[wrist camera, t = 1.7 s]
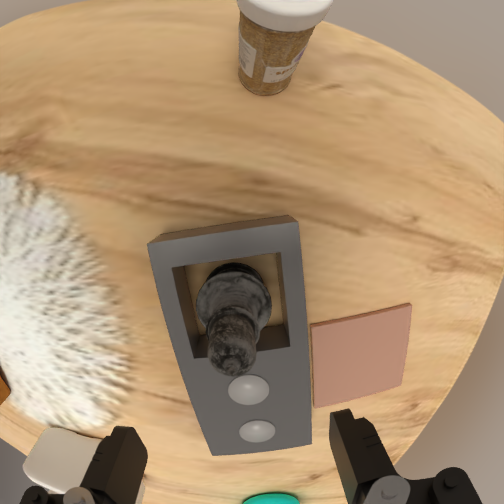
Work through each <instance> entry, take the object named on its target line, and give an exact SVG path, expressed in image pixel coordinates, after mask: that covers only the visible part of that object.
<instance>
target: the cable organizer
mask: <svg viewBox="0 0 504 504" xmlns="http://www.w3.org/2000/svg"><path fill="white" fill-rule="evenodd" d="M101 441H102V439H98V438H89V437H86V436H82V435H78V434H77V433H75V432H73V431H70V430H66V429H63V428H54V427H52V428H47V429H45V430H44V431H43V433H42V434H41V436H40V437H39V439H38V441H37V442H36V444H35V445H34V447H33V449H32V450H31V452H30V453H29V455H28V457H27V459H26V460H25V462H24V464H23V470H24V472H25V473H26V475H27V476H28V477H29V478H30V479H31V480H32V481H33V482H35V483H37V484H39V485H41V486H44V487H46V488H48V489H50V490H49V492H48V493H49V494H65V493H66V492H67V491H68V490H69V489H71V488H74V487H79V486H80V484H81V482H82V480H83V478H84V475H85V473H86V471H87V469H88V466H89V464H90V462H91V461H92V457H93V455H94V454H95V451H96V449H97V447H98V444H99V443H100V442H101ZM144 492H145V484H144V482H143V480H142V481H141V485H140V488H139V492H138V496H137V499H136V503H135V504H142V500H143V496H144Z"/></svg>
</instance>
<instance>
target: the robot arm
mask: <svg viewBox="0 0 504 504" xmlns="http://www.w3.org/2000/svg"><path fill="white" fill-rule="evenodd" d="M329 440H330V446H331V450H332V453H333V456H334V459H335V462H336V466H337V469H338V472H339V475H340V479H341V482H342V485H343V489H344V492H345V495H346V498H347V502H348V504H482V502H481V500H480V498H479V496H478V494H477V492H476V490H475V489H474V487H473V485H472V483H471V481H470V479H469V477H468V475H467V474H466V472H465V471H464V470H462V469H460V468H457V467H450V468H446V469H444V470H442V471H440V472H439V473H438V474H437V475H436V477H433V478H427V479H420V480H409V479H405V478H403V477H401V476H400V475H399V474H398V473H397V472H396V471H395V469H394V467H393V464H392V462H391V460H390V458H389V456H388V454H387V452H386V450H385V448H384V446H383V444H382V443H381V440H380V438H379V436H378V434H377V431H376V429H375V427H374V425H373V424H372V423H371V422H369V421H368V420H367V419H365V418H364V417H363V418H359V419H354V417H353V415H352V412H351V410H350V409H344V410H340V411H336V412H331V413H330V428H329ZM147 459H148V454H147V450H146V447H145V446H144V444H143V442H142V441H141V439H140V437H139V436H138V434H137V432H136V430H135V429H134V428H133V427H125V426H115V427H114V429H113V431H112V433H111V436H106V437H105V438H104V439H103V440H102V441H101V442H100V443H99V444H98V447H97V449H96V451H95V454H94V455H93V457H92V461H91V462H90V464H89V466H88V469H87V471H86V473H85V475H84V478H83V480H82V482H81V484H80V486H79V487H74V488H71V489H69V490H68V491H67V492H66V493H65V494H49V493H48V492H47V491H46V490H45V489H44V488H42V487H40V486H32V487H30V488H28V489H27V490H26V491H25V493H24V495H23V497H22V499H21V502H20V504H135V503H136V499H137V496H138V492H139V488H140V485H141V481H142V477H143V474H144V470H145V467H146V463H147Z"/></svg>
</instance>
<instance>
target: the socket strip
mask: <svg viewBox="0 0 504 504" xmlns="http://www.w3.org/2000/svg"><path fill="white" fill-rule="evenodd" d="M147 247H148V252H149V257H150V261H151V266H152V270H153V274H154V279H155V283H156V287H157V291H158V295H159V299H160V303H161V307H162V311H163V314H164V318H165V322H166V325H167V329H168V332H169V336H170V339H171V342H172V346H173V349H174V352H175V355H176V359H177V362H178V365H179V368H180V371H181V374H182V377H183V380H184V383H185V386H186V389H187V392H188V395H189V397H190V400H191V403H192V406H193V408H194V411H195V414H196V416H197V419H198V422H199V424H200V427H201V429H202V432H203V434H204V437H205V439H206V442H207V444H208V446H209V449H210V451H211V454H212V456H218V455H235V454H247V453H257V452H266V451H274V450H281V449H287V448H293V447H299V446H305V445H310V444H312V423H311V387H310V364H309V345H308V329H307V314H306V300H305V288H304V276H303V265H302V254H301V244H300V235H299V225H298V221H297V220H295V219H294V218H292V217H291V216H289V215H287V216H279V217H272V218H264V219H257V220H250V221H243V222H236V223H229V224H223V225H216V226H210V227H203V228H197V229H190V230H184V231H178V232H172V233H166V234H161V235H159V236H158V237H156V238H155V239H153V240H152V241H150V242H149V243H148V244H147ZM270 253H276V260H277V268H278V277H279V286H280V294H281V303H282V312H283V322H284V325H277V326H271V327H264V328H263V329H262V330H261V331H260V337H259V339H258V342H257V343H256V361H255V363H254V365H253V367H252V368H251V369H250V371H248V372H247V373H245V374H243V375H240V376H235V377H231V376H226V375H222V374H221V373H219V372H217V371H216V370H215V369H214V368H213V367H212V366H211V364H210V363H209V359H208V355H207V354H208V345H209V341H208V339H207V336H206V335H199V331H198V327H197V323H196V319H195V314H194V310H193V306H192V301H191V297H190V292H189V288H188V283H187V278H186V274H185V269H184V266H186V265H193V264H200V263H207V262H214V261H221V260H228V259H235V258H242V257H249V256H256V255H263V254H270Z"/></svg>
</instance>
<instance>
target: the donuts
mask: <svg viewBox="0 0 504 504" xmlns="http://www.w3.org/2000/svg"><path fill="white" fill-rule="evenodd" d="M243 504H300V503H299V501H298V500H297V499H296V498H295V497H293V496H290V495H287V494H277V493H276V494H264V495H259V496H255V497H252V498H250V499H248V500H246V501H245V502H244V503H243Z"/></svg>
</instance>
